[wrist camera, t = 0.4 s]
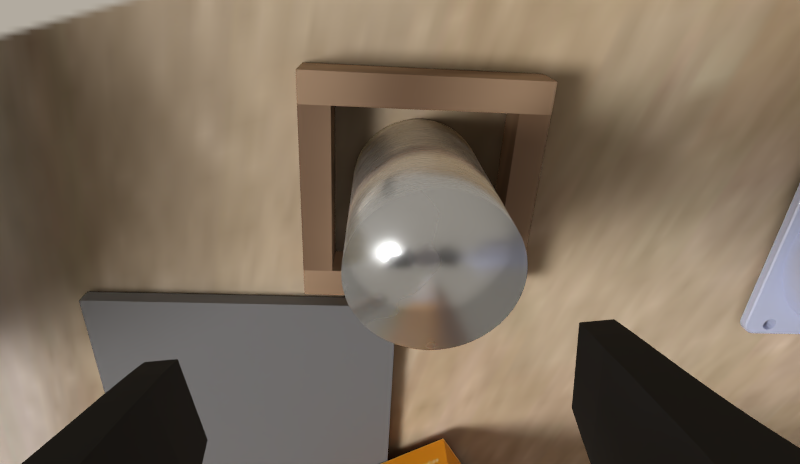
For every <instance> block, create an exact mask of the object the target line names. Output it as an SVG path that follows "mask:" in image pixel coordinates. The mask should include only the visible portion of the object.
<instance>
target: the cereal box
mask: <svg viewBox="0 0 800 464" xmlns="http://www.w3.org/2000/svg"><path fill="white" fill-rule="evenodd" d="M381 464H461V463H460V461H459V460H458V458H457V457H456V456H455V454H454V453H453V451H452V450H451V448H450V447H449V446H448V444H447V443H446V441H445V440H444V439H441V440H438V441H436V442H433V443H431V444H428V445H426V446H423V447H421V448H418V449H416V450H413V451H411V452H409V453H406V454H404V455H401V456H399V457H396V458H394V459H391V460H389V461H386V462H384V463H381Z"/></svg>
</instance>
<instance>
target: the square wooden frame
mask: <svg viewBox="0 0 800 464" xmlns="http://www.w3.org/2000/svg"><path fill="white" fill-rule="evenodd" d="M556 88H557V81H555V80H553V79H551V78H549V77H547V76H545V75H544V74H531V73H510V72H489V71H469V70H448V69H427V68H406V67H385V66H365V65H344V64H323V63H302V64H301V65H300V66H299V67H298V68H297V69H296V90H297V115H298V140H299V165H300V190H301V215H302V240H303V265H304V290H305V294H318V295H344V291H343V287H342V279H341V269H342V259H343V251H336V244H335V106H351V107H374V108H397V109H420V110H444V111H467V112H490V113H507V115H506V122H505V129H504V135H503V142H502V149H501V156H500V163H499V170H498V176H497V183H496V190H495V191H496V193H497V194H498V196H499V198H500V200H501V201H502V203H503V205H504V207H505V208H506V210H507V212H508V214H509V215H510V217H511V219H512V220H513V222H514V224H515V226H516V227H517V229H518V231H519V233H520V235H521V237H522V239H523V242H524V245H525V248H527V243H528V238H529V232H530V227H531V222H532V216H533V211H534V206H535V200H536V195H537V189H538V184H539V179H540V173H541V168H542V163H543V157H544V152H545V147H546V141H547V136H548V130H549V125H550V120H551V114H552V109H553V104H554V98H555V93H556Z"/></svg>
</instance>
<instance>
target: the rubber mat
mask: <svg viewBox="0 0 800 464" xmlns="http://www.w3.org/2000/svg"><path fill="white" fill-rule="evenodd" d="M79 303H80V306H81V310H82V313H83V317H84V320H85V324H86V327H87V331H88V335H89V338H90V342H91V345H92V349H93V352H94V356H95V359H96V363H97V367H98V370H99V374H100V377H101V381H102V384H103V388H104V391H105V393H106V392H107V391H109V390H110V389H111V388H112V387H113V386H115V385H116V384H117V383H118V382H119V381H121V380H122V379H123V378H124V377H126V376H127V375H128V374H129V373H131V372H132V371H133V370H134V369H136V368H137V367H138V366H140V365H141V364H142V363H144V362H151V361H162V360H173V359H178V361H179V364H180V367H181V369H182V372H183V375H184V377H185V380H186V383H187V386H188V388H189V391H190V394H191V396H192V399H193V402H194V404H195V407H196V410H197V413H198V415H199V418H200V421H201V423H202V426H203V429H204V431H205V434H206V437H207V440H208V441H207V445H206V449H205V454H204V458H203V462H202V464H381V463H384V462H386V461H387V459H388V442H389V425H390V407H391V390H392V373H393V356H394V343H391V342H389V341H386V340H384V339H383V338H381V337H379V336H377V335H376V334H374V333H373V332H371V331H370V330H369V329H367V328H366V327H365V326H364V325H363V324H362V323H361V322H360V321H359V320H358V318H357V317H356V316H355V314H354V313H353V312H352V310H351V308H350V306H349V305H348V302H347V300H346V298H345V297H312V296H264V295H217V294H169V293H122V292H87V293H86V294H85V295H84V296H83V297H82V298H81V299H80V300H79Z"/></svg>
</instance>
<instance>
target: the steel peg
mask: <svg viewBox="0 0 800 464" xmlns="http://www.w3.org/2000/svg"><path fill="white" fill-rule="evenodd" d="M527 269H528V263H527V253H526V248H525V245H524V242H523V239H522V237H521V235H520V233H519V231H518V229H517V227H516V226H515V224H514V222H513V220H512V219H511V217H510V215H509V214H508V212H507V210H506V208H505V207H504V205H503V203H502V201H501V200H500V198H499V196H498V194H497V193H496V191H495V189H494V187H493V186H492V184H491V182H490V180H489V179H488V177H487V175H486V173H485V172H484V170H483V168H482V166H481V165H480V163H479V161H478V159H477V158H476V156H475V154H474V152H473V151H472V149H471V147H470V146H469V144H468V143H467V142H466V140H465V139H464V138H463V137H462V136H461V135H460V134H459V133H457V132H456V131H455V130H453V129H452V128H450V127H448V126H446V125H444V124H442V123H439V122H436V121H432V120H426V119H410V120H403V121H400V122H396V123H394V124H391V125H389V126H387V127H385V128H384V129H382V130H380V131H379V132H378V133H376V134H375V135H374V136H373V137H372V138H371V139H370V140H369V141H368V142H367V143H366V145H365V146H364V148H363V149H362V151H361V153H360V155H359V156H358V159H357V162H356V165H355V170H354V176H353V184H352V191H351V199H350V206H349V214H348V221H347V229H346V236H345V244H344V251H343V259H342V269H341V279H342V287H343V291H344V295H345V298H346V300H347V302H348V305H349V306H350V308H351V310H352V312H353V313H354V314H355V316H356V317H357V318H358V320H359V321H360V322H361V323H362V324H363V325H364V326H365V327H366V328H367V329H369V330H370V331H371V332H373V333H374V334H376V335H377V336H379V337H381V338H383V339H384V340H386V341H389V342H391V343H394V344H396V345H400V346H403V347H407V348H413V349H422V350H438V349H446V348H452V347H456V346H460V345H463V344H466V343H469V342H471V341H473V340H476V339H478V338H480V337H482V336H483V335H485V334H486V333H488V332H490V331H491V330H493V329H494V328H495V327H496V326H498V325H499V324H500V323H501V322H502V321H503V320H504V319H505V318H506V317H507V316H508V315H509V313H510V312H511V311H512V310H513V308H514V307H515V305H516V304H517V302H518V300H519V298H520V296H521V294H522V291H523V289H524V286H525V282H526V278H527Z"/></svg>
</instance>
